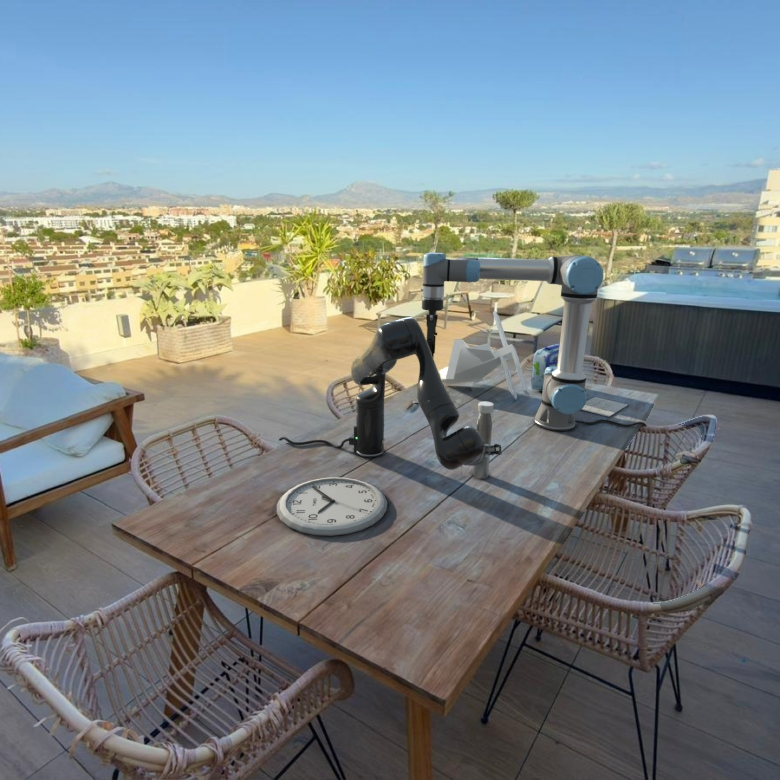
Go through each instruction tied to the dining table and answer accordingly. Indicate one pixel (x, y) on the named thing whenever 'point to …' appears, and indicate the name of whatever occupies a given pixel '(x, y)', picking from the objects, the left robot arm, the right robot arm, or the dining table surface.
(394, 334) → the left robot arm
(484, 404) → the cap
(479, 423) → the bottle
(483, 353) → the white plastic object
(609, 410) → the invitation card
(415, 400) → the fork
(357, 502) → the wall clock
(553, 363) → the lunch box
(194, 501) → the dining table surface
